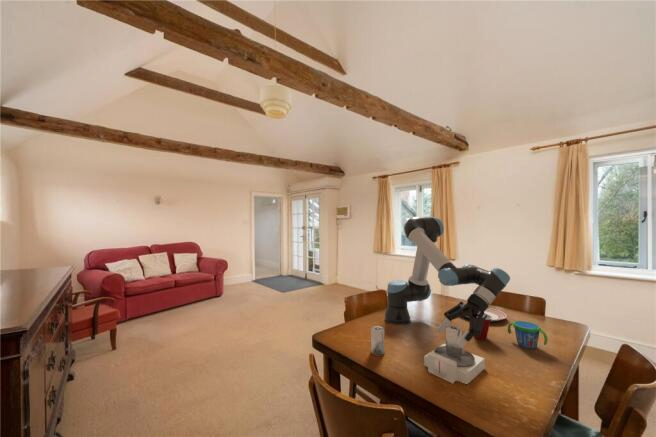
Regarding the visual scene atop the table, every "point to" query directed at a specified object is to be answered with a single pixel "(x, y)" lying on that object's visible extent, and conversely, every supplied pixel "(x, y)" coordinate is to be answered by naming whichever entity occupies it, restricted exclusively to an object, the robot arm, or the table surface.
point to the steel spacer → (377, 340)
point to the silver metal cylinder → (453, 341)
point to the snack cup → (527, 334)
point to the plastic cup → (485, 328)
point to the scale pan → (464, 361)
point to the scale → (452, 368)
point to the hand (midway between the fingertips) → (448, 337)
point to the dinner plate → (495, 314)
